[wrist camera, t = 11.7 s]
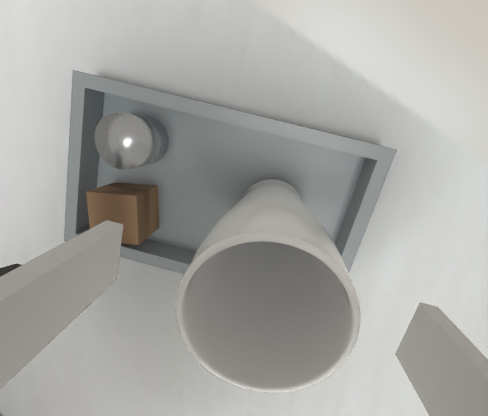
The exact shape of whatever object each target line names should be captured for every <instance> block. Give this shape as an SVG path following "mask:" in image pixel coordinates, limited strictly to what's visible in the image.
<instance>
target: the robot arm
mask: <svg viewBox="0 0 488 416" xmlns="http://www.w3.org/2000/svg"><path fill="white" fill-rule="evenodd" d="M122 232H123V224H120V223H116V222H112V221H108V220H106V221H104V222H102V223H100V224H98V225H97V226H95V227H93V228H91V229H89V230H87V231H85V232H83V233H82V234H80V235H78V236H76V237H74V238H72V239H70V240H68V241H67V242H65V243H63V244H61V245H59V246H57V247H55V248H53V249H52V250H50V251H48V252H46V253H44V254H42V255H40V256H38V257H37V258H35V259H33V260H31V261H29V262H27V263H25V264H23V265H20V264H14V265H10V266H6V267H3V268H0V389H1V388H2V387H3V386H4V385H5V384H6V383H7V382H8V381H9V380H10V379H12V378H13V377H14V376H15V375H16V374H17V373H18V372H19V371H20V370H21V369H22V368H23V367H24V366H25V365H26V364H27V363H28V362H29V361H31V360H32V359H33V358H34V357H35V356H36V355H37V354H38V353H39V352H40V351H41V350H42V349H43V348H44V347H45V346H46V345H47V344H49V343H50V342H51V341H52V340H53V339H54V338H55V337H56V336H57V335H58V334H59V333H60V332H61V331H62V330H63V329H64V328H65V327H66V326H68V325H69V324H70V323H71V322H72V321H73V320H74V319H75V318H76V317H77V316H78V315H79V314H80V313H81V312H82V311H83V310H84V309H86V308H87V307H88V306H89V305H90V304H91V303H92V302H93V301H94V300H95V299H96V298H97V297H98V296H99V295H100V294H101V293H102V292H104V291H105V290H106V289H107V288H108V287H109V286H110V285H111V284H112V283H113V282H114V281H115V280H116V279H117V273H118V264H119V256H120V248H121V240H122ZM395 354H396V356H397V358H398V360H399V362H400V363H401V365H402V367H403V369H404V371H405V372H406V374H407V376H408V378H409V380H410V381H411V383H412V385H413V387H414V389H415V390H416V392H417V394H418V396H419V398H420V399H421V401H422V403H423V405H424V407H425V408H426V410H427V412H428V414H429V416H488V359H487V358H486V357H485V356H484V355H483V354H482V353H481V352H480V351H479V350H478V349H477V348H476V347H475V346H474V345H473V344H472V343H471V341H470V340H469V339H468V338H467V337H466V336H465V335H464V334H463V333H462V332H461V331H460V330H459V329H458V328H457V327H456V326H455V325H454V323H453V322H452V321H451V320H450V319H449V318H448V317H447V316H446V315H445V314H444V313H443V312H442V311H441V310H440V309H439V308H438V307H436V306H432V305H428V304H424V303H420V304H419V306H418V308H417V310H416V312H415V314H414V316H413V318H412V320H411V322H410V324H409V326H408V329H407V331H406V333H405V335H404V337H403V339H402V341H401V343H400V345H399V347H398V349H397V351H396V353H395Z"/></svg>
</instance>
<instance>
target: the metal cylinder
mask: <svg viewBox="0 0 488 416" xmlns="http://www.w3.org/2000/svg"><path fill="white" fill-rule="evenodd" d="M94 139H95V145H96V148H97V151H98V153H99V155H100V156H101V158H102V159H103V160H104V161H105V162H106V163H107V164H109V165H110V166H112V167H114V168H117V169H121V170H128V169H132V168H136V167H140V166H143V165H147V164H151V163H154V162H157V161H159V160H160V159H161V158H162V157H163V156H164V155H165V153H166V152H167V149H168V143H169V141H168V135H167V132H166V129H165V128H164V126H163V125H162V124H161V122H159V121H158V120H157V119H155V118H154V117H151V116H147V115H139V114H130V113H120V112H116V113H111V114H108V115H106V116H105V117H103V118H102V119H101V120H100V121H99V123H98V125H97V127H96V130H95V137H94Z"/></svg>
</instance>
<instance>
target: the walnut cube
mask: <svg viewBox="0 0 488 416" xmlns="http://www.w3.org/2000/svg"><path fill="white" fill-rule="evenodd" d="M86 195H87V205H88V216H89V226H90V229H91V228H93V227H95V226H97V225H98V224H100V223H102V222H104V221H106V220H108V221H112V222H116V223H120V224H123V232H122V240H121V243H123V244H132V245H139V244H141V243H142V242H143V241H144V240H145V239H147V238H148V237H149V236H150V235H151V234H153V233H154V232H155V231H156V230H157V229H159V210H158V186H155V185H143V184H131V183H119V182H114V183H111V184H108V185H105V186H102V187H99V188H96V189H93V190H90V191H86Z"/></svg>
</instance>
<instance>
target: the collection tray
mask: <svg viewBox="0 0 488 416" xmlns="http://www.w3.org/2000/svg"><path fill="white" fill-rule="evenodd" d="M116 112H120V113H130V114H139V115H147V116H151V117H154V118H155V119H157V120H158V121H159V122H161V124H162V125H163V126H164V128H165V129H166V132H167V135H168V141H169V143H168V149H167V152H166V153H165V155H164V156H163V157H162V158H161V159H160V160H159V161H157V162H154V163H151V164H147V165H143V166H140V167H136V168H132V169H128V170H121V169H117V168H114V167H112V166H110V165H109V164H107V163H106V162H105V161H104V160H103V159H102V158H101V156H100V155H99V153H98V151H97V148H96V145H95V139H94V137H95V130H96V127H97V125H98V123H99V121H100V120H101V119H102V118H103V117H105V116H106V115H108V114H111V113H116ZM396 151H397V150H396V149H392V148H388V147H384V146H380V145H375V144H371V143H367V142H363V141H359V140H355V139H351V138H347V137H343V136H339V135H335V134H331V133H327V132H323V131H319V130H315V129H310V128H306V127H302V126H298V125H294V124H290V123H286V122H282V121H278V120H274V119H270V118H266V117H262V116H258V115H254V114H249V113H245V112H241V111H237V110H233V109H229V108H225V107H221V106H217V105H213V104H209V103H205V102H201V101H197V100H193V99H189V98H184V97H180V96H176V95H172V94H168V93H164V92H160V91H156V90H152V89H148V88H144V87H140V86H136V85H132V84H128V83H123V82H119V81H115V80H111V79H107V78H103V77H99V76H95V75H91V74H87V73H83V72H79V71H75V70H73V77H72V96H71V116H70V135H69V155H68V174H67V194H66V213H65V233H64V241H66V242H67V241H68V240H70V239H72V238H74V237H76V236H78V235H80V234H82V233H83V232H85V231H87V230H89V229H90V226H89V216H88V205H87V195H86V191H90V190H93V189H96V188H99V187H102V186H105V185H108V184H111V183H114V182H119V183H131V184H143V185H155V186H158V210H159V229H157V230H156V231H155V232H154V233H153V234H151V235H150V236H149V237H148V238H147V239H145V240H144V241H143V242H142V243H141V244H139V245H132V244H123V243H121V248H120V257H124V258H128V259H131V260H135V261H139V262H142V263H146V264H149V265H153V266H157V267H160V268H164V269H168V270H171V271H175V272H179V273H182V274H184V273H185V272H186V270H187V268H188V266H189V264H190V262H191V260H192V259H193V257H194V255H195V253H196V251H197V250H198V248H199V246H200V245H201V243H202V241H203V240H204V239H205V237H206V236H207V234H208V233H209V231H210V230H211V229H212V228H213V226H214V225H215V224H216V223H217V222H218V221H219V219H220V218H221V217H222V216H223V215H224V214H225V213H226V212H227V211H228V210H230V209H231V208H232V207H233V206H234V205H235V204H236V203H237V202H238V201H239V200H240V199H241V198H242V197H243V196H244V194H245V193H246V191H247V190H248V189H249V188H250V187H251V186H252V185H254V184H255V183H257V182H259V181H262V180H266V179H278V180H282V181H285V182H287V183H289V184H290V185H292V186H293V187H294V188H295V189H296V190H297V191H298V193H299V194H300V196H301V198H302V200H303V201H304V203H305V204H306V205H307V206H308V207H309V209H310V210H311V211H312V212H313V213H314V215H315V216H316V217H317V218H318V220H319V221H320V222H321V223H322V225H323V226H324V227H325V229H326V230H327V232H328V233H329V235H330V236H331V238H332V240H333V241H334V243H335V245H336V247H337V249H338V251H339V253H340V255H341V257H342V259H343V261H344V263H345V266H346V268H347V271H348V273H349V271H350V268H351V266H352V263H353V261H354V258H355V256H356V253H357V250H358V248H359V245H360V243H361V240H362V238H363V235H364V233H365V230H366V227H367V225H368V222H369V220H370V217H371V215H372V212H373V210H374V207H375V204H376V202H377V199H378V197H379V194H380V192H381V189H382V186H383V184H384V181H385V179H386V176H387V174H388V171H389V169H390V166H391V163H392V161H393V158H394V156H395V153H396Z"/></svg>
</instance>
